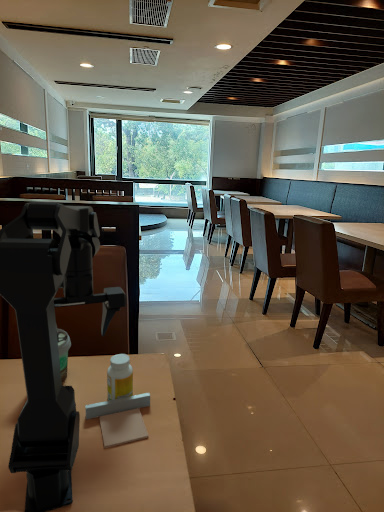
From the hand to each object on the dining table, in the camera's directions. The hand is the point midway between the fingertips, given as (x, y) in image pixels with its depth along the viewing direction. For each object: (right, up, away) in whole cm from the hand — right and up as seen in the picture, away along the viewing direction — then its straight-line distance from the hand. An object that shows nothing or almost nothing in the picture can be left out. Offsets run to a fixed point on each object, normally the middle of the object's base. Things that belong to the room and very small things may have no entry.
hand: (80, 338), depth 73 cm
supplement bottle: (+8, -14, +2) cm, 16 cm away
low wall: (+9, -14, -2) cm, 17 cm away
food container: (-8, -12, +7) cm, 16 cm away
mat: (+10, -16, -7) cm, 20 cm away
